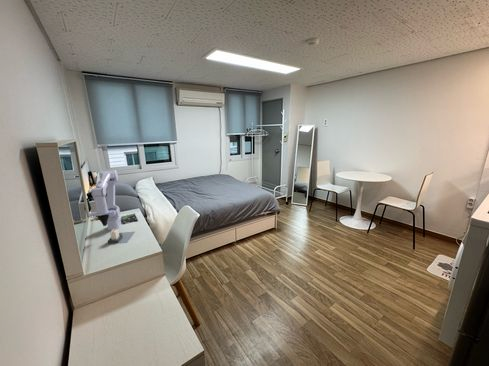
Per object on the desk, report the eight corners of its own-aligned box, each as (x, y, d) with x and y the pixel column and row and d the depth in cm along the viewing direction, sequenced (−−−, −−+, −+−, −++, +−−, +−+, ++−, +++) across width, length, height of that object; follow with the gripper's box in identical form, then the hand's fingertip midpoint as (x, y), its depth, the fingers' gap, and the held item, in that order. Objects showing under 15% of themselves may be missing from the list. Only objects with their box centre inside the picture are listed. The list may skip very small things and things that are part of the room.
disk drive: (138, 222, 166) (134, 216, 177) (138, 219, 165) (134, 213, 177) (123, 226, 160) (121, 219, 171) (123, 222, 159) (120, 216, 171)
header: (113, 238, 140) (112, 235, 139) (122, 237, 141) (122, 234, 140) (108, 243, 133) (107, 240, 133) (118, 242, 134) (117, 240, 133)
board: (117, 234, 147) (116, 232, 146) (135, 232, 148) (134, 230, 148) (106, 246, 132) (106, 243, 132) (127, 244, 134) (126, 242, 134)
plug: (115, 239, 139) (113, 229, 137) (119, 238, 139) (118, 228, 137) (112, 242, 135) (110, 232, 133) (117, 241, 135) (115, 231, 133)
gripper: (85, 208, 129) (89, 229, 132) (110, 207, 131) (114, 227, 134) (91, 205, 136) (95, 224, 139) (115, 203, 138) (119, 222, 141)
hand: (105, 225), depth 137 cm, fingers closed
